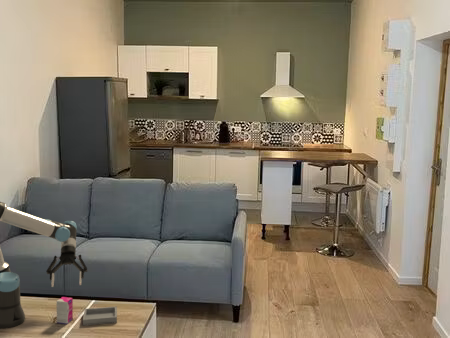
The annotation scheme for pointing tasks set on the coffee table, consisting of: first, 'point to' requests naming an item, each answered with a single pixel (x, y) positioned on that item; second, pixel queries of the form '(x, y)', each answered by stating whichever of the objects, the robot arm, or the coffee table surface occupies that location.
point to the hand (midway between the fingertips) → (66, 285)
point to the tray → (100, 316)
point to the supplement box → (64, 310)
